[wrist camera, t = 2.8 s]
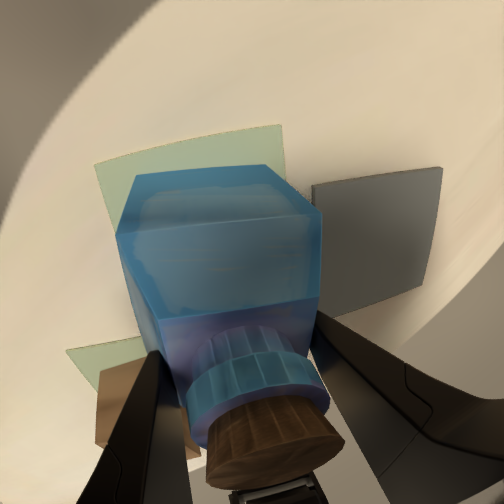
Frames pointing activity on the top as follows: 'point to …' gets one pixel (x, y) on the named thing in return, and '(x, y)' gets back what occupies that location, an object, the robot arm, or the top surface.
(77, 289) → the top surface
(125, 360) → the code mat
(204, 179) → the perfume bottle
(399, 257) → the slate coaster
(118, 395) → the walnut block
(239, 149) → the code mat
